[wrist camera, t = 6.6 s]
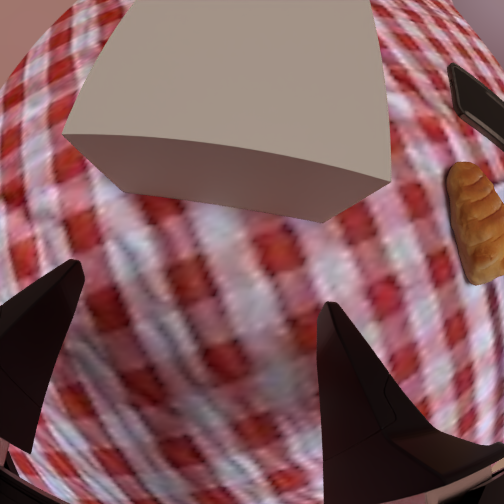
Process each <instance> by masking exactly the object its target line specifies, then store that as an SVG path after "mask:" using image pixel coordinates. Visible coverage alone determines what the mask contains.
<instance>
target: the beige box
mask: <svg viewBox="0 0 504 504" xmlns="http://www.w3.org/2000/svg"><path fill="white" fill-rule="evenodd" d="M62 135H63V136H64V137H65V138H66V139H67V140H68V141H69V142H70V143H71V144H72V145H73V146H74V147H75V148H76V149H78V150H79V151H80V152H81V153H82V154H83V155H84V156H85V157H86V158H87V159H88V160H89V161H90V162H91V163H92V164H93V165H94V166H96V167H97V168H98V169H99V170H100V171H101V172H102V173H103V174H104V175H105V176H106V177H107V178H109V179H110V180H111V181H112V182H113V183H114V184H115V185H116V186H117V187H118V188H119V189H121V190H122V191H123V192H126V193H134V194H142V195H150V196H158V197H166V198H173V199H180V200H187V201H194V202H201V203H208V204H215V205H221V206H228V207H234V208H240V209H246V210H252V211H258V212H264V213H270V214H276V215H281V216H287V217H293V218H298V219H304V220H309V221H314V222H320V223H324V222H326V221H327V220H329V219H331V218H332V217H334V216H336V215H337V214H339V213H341V212H342V211H344V210H346V209H347V208H349V207H351V206H352V205H354V204H356V203H357V202H359V201H361V200H362V199H364V198H366V197H367V196H369V195H371V194H372V193H374V192H376V191H377V190H379V189H380V188H382V187H384V186H385V185H387V184H389V183H390V182H391V147H390V129H389V115H388V105H387V95H386V87H385V79H384V72H383V65H382V59H381V53H380V47H379V42H378V37H377V32H376V27H375V22H374V18H373V14H372V9H371V5H370V1H369V0H136V1H135V2H134V3H133V5H132V6H131V7H130V9H129V10H128V11H127V13H126V14H125V16H124V17H123V19H122V20H121V21H120V23H119V24H118V26H117V27H116V29H115V30H114V32H113V33H112V35H111V37H110V38H109V40H108V41H107V43H106V45H105V46H104V48H103V50H102V51H101V53H100V55H99V56H98V58H97V60H96V62H95V64H94V65H93V67H92V69H91V71H90V73H89V75H88V77H87V79H86V80H85V82H84V84H83V86H82V88H81V91H80V93H79V95H78V97H77V99H76V101H75V103H74V106H73V108H72V110H71V112H70V115H69V117H68V119H67V122H66V124H65V127H64V129H63V132H62Z"/></svg>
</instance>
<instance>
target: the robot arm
mask: <svg viewBox="0 0 504 504" xmlns="http://www.w3.org/2000/svg"><path fill="white" fill-rule="evenodd" d="M84 282H85V276H84V272H83V269H82V265H81V262H80V261H79V260H74V259H69V260H68V261H66V262H64V263H63V264H61V265H60V266H58V267H57V268H55V269H53V270H52V271H50V272H49V273H47V274H46V275H44V276H43V277H41V278H40V279H38V280H37V281H35V282H34V283H32V284H31V285H29V286H28V287H26V288H25V289H23V290H22V291H21V292H19V293H18V294H16V295H15V296H13V297H12V298H11V299H9V300H8V301H6V302H5V303H4V304H3V305H1V306H0V504H70V503H67V502H65V501H63V500H61V499H59V498H57V497H55V496H53V495H51V494H49V493H47V492H45V491H43V490H41V489H39V488H37V487H35V486H34V485H32V484H30V483H28V482H27V481H25V480H23V479H22V478H20V477H19V474H18V472H17V470H16V468H15V465H14V463H13V461H12V458H11V456H10V453H9V451H8V448H9V445H10V443H11V444H12V445H14V446H16V447H18V448H19V449H21V450H23V451H25V452H27V453H29V454H31V451H32V447H33V442H34V437H35V433H36V429H37V424H38V420H39V417H40V413H41V408H42V405H43V401H44V398H45V394H46V391H47V388H48V384H49V381H50V378H51V375H52V372H53V369H54V366H55V363H56V360H57V357H58V355H59V352H60V349H61V346H62V344H63V341H64V339H65V336H66V333H67V331H68V328H69V326H70V323H71V321H72V318H73V316H74V313H75V310H76V306H77V303H78V300H79V297H80V294H81V291H82V288H83V285H84ZM317 372H318V384H319V397H320V412H321V429H322V450H323V486H324V504H504V468H502V469H500V470H498V471H496V472H493V473H492V471H491V464H493V463H495V462H497V461H498V460H500V459H502V458H504V444H503V443H501V442H496V443H494V444H492V445H479V444H476V443H473V442H470V441H467V440H464V439H461V438H458V437H455V436H452V435H449V434H446V433H443V432H441V431H439V430H437V429H436V428H435V427H433V426H432V425H431V424H430V423H429V422H428V421H427V419H426V418H425V417H424V416H423V415H422V414H421V412H420V411H419V410H418V409H417V408H416V406H415V405H414V404H413V403H412V402H411V401H410V399H409V398H408V397H407V396H406V395H405V393H404V392H403V391H402V389H401V388H400V387H399V385H398V384H397V383H396V381H395V380H394V379H393V377H392V376H391V374H389V372H388V370H387V369H386V368H385V366H384V365H383V363H382V362H381V361H380V359H379V358H378V357H377V355H376V354H375V352H374V351H373V350H372V348H371V347H370V346H369V344H368V343H367V341H366V340H365V339H364V337H363V336H362V335H361V333H360V332H359V331H358V329H357V328H356V327H355V325H354V324H353V323H352V321H351V320H350V319H349V317H348V316H347V315H346V313H345V312H344V311H343V309H342V308H341V307H340V305H339V304H338V303H336V302H329V301H327V302H326V303H325V304H324V306H323V308H322V310H321V312H320V314H319V316H318V319H317Z"/></svg>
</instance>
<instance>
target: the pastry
mask: <svg viewBox="0 0 504 504" xmlns="http://www.w3.org/2000/svg"><path fill="white" fill-rule="evenodd" d="M447 192H448V195H449V199H450V212H451V216H450V221H451V227H452V229H453V230H454V234H455V239H456V242H457V246H458V251H459V256H460V259H461V263H462V266H463V269H464V272H465V275H466V277H467V278H468V280H469V281H470V283H471V284H473V285H475V286H476V285H481V284H485V283H487V282H490V281H492V280H493V279H495V278H497V277H499V276H502V275H504V204H503V202H502V201H501V199H500V197H499V196H498V194H497V193H496V192H495V189H494V186H493V184H492V183H491V182H490V181H489V179H488V178H487V177H486V175H485V174H484V173H483V172H482V171H481V170H480V168H479V167H478V166H477V165H475V164H473V163H471V162H457V163H455V164H454V165H453V166H452V167H451V169H450V171H449V174H448V177H447Z"/></svg>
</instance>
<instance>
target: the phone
mask: <svg viewBox="0 0 504 504" xmlns="http://www.w3.org/2000/svg"><path fill="white" fill-rule="evenodd" d="M447 72H448V77H449V82H450V88H451V94H452V101H453V107H454V109H455V112H456V113H457V115H458V116H459V117H460V118H461V119H462V120H464V121H465V122H466V123H468V124H469V125H471V126H472V127H473V128H475V129H476V130H477V131H479V132H480V133H481V134H483V135H484V136H485V137H486V138H488V139H489V140H490V141H492V142H493V143H494V144H495V145H496V146H498V147H499V148H500V149H501V150H502V151H504V102H503V101H502V100H501V99H500V98H499V97H498V96H497V95H495V94H494V93H493V92H492V91H491V90H490V89H488V88H487V87H486V86H485V85H484V84H482V83H481V82H480V81H479V80H477V79H476V78H475V77H473V76H472V75H471V74H470V73H468V72H467V71H465V70H464V69H463V68H461V67H460V66H459V65H457V64H455V63H451V64H450V65H449V66H448V67H447ZM451 81H452V84H453V86H452V84H451Z"/></svg>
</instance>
